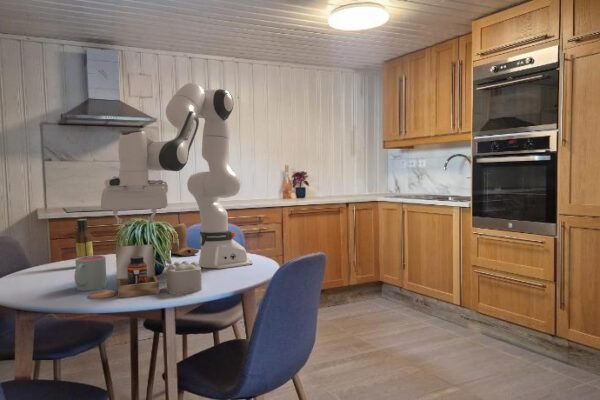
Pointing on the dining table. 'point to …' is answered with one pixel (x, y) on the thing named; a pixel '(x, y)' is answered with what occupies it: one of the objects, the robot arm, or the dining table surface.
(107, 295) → the saucer
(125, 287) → the cold frame
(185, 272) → the lumpy-topped squat cylinder
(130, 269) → the supplement bottle
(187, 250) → the brown boot
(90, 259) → the mug
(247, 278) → the dining table surface
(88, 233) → the sauce bottle
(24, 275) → the dining table surface
